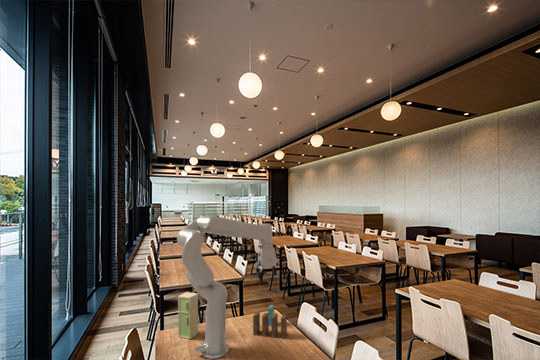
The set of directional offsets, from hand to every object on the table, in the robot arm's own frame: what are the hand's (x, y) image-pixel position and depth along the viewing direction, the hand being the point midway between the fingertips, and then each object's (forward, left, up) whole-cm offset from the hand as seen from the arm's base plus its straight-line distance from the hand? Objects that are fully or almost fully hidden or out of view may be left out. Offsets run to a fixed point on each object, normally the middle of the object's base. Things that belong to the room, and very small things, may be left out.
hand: (267, 277), depth 149 cm
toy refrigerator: (-40, +16, -28) cm, 51 cm away
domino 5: (+3, -11, -28) cm, 30 cm away
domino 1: (-7, 0, -28) cm, 29 cm away
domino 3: (+4, +4, -28) cm, 29 cm away
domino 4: (0, -7, -28) cm, 29 cm away
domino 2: (-4, -4, -28) cm, 29 cm away
